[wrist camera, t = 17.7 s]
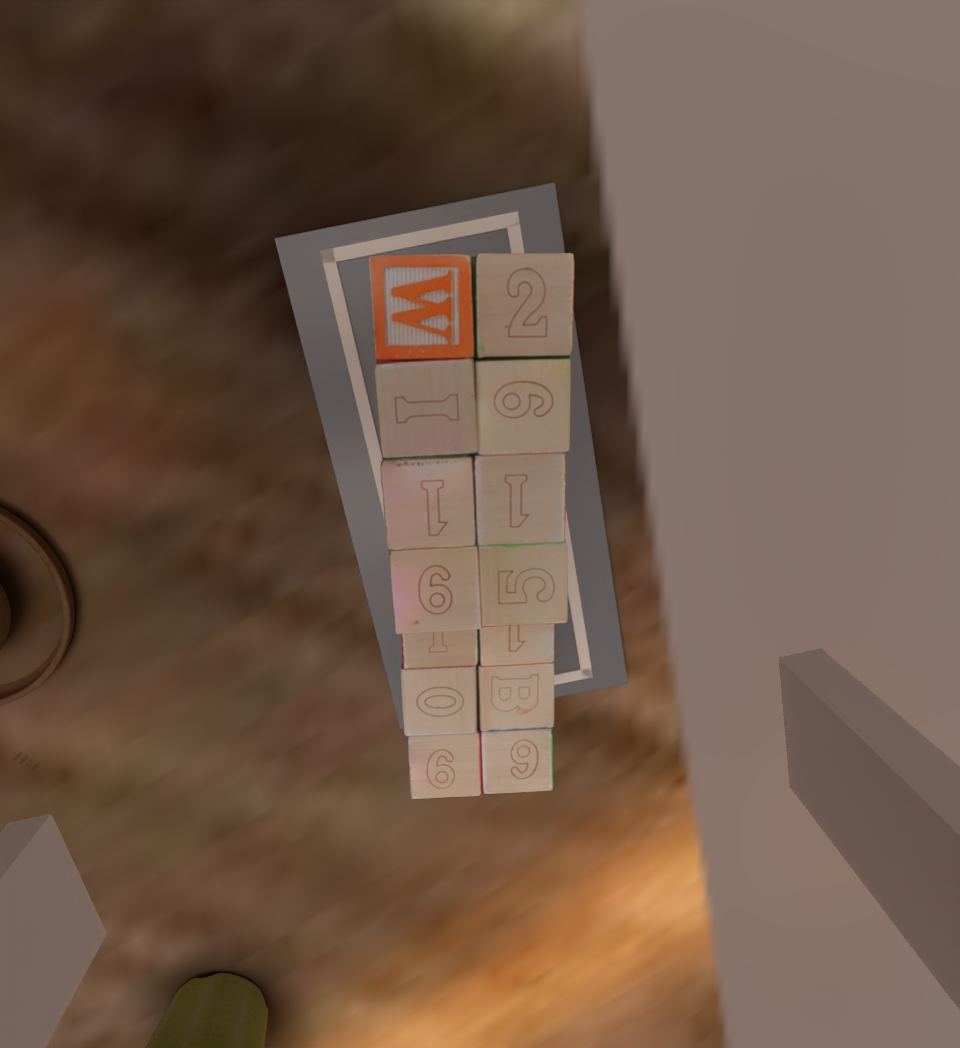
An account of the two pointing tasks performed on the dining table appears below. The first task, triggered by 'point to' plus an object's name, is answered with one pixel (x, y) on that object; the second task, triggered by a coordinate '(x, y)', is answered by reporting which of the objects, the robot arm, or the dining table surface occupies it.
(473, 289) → the stack of blocks
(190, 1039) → the plant pot
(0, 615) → the place setting
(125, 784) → the dining table surface
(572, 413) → the blueprint baseplate
